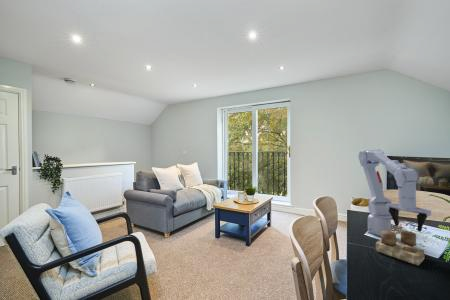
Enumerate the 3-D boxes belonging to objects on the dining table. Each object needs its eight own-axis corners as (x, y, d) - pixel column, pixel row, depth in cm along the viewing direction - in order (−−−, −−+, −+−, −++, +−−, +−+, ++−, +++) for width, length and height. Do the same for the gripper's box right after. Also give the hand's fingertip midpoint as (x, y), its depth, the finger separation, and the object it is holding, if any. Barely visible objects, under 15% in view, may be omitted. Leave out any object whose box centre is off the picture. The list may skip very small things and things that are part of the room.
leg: (398, 249, 91) (398, 232, 90) (403, 246, 93) (402, 229, 93) (414, 254, 86) (413, 236, 86) (418, 250, 89) (417, 233, 89)
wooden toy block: (375, 250, 90) (375, 232, 90) (382, 245, 94) (382, 228, 94) (418, 265, 79) (418, 244, 78) (424, 258, 83) (424, 239, 83)
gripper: (383, 195, 93) (384, 225, 93) (427, 201, 81) (428, 236, 81) (389, 192, 97) (390, 221, 97) (432, 198, 85) (433, 231, 85)
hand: (407, 228), depth 90 cm, fingers open, 7 cm apart
